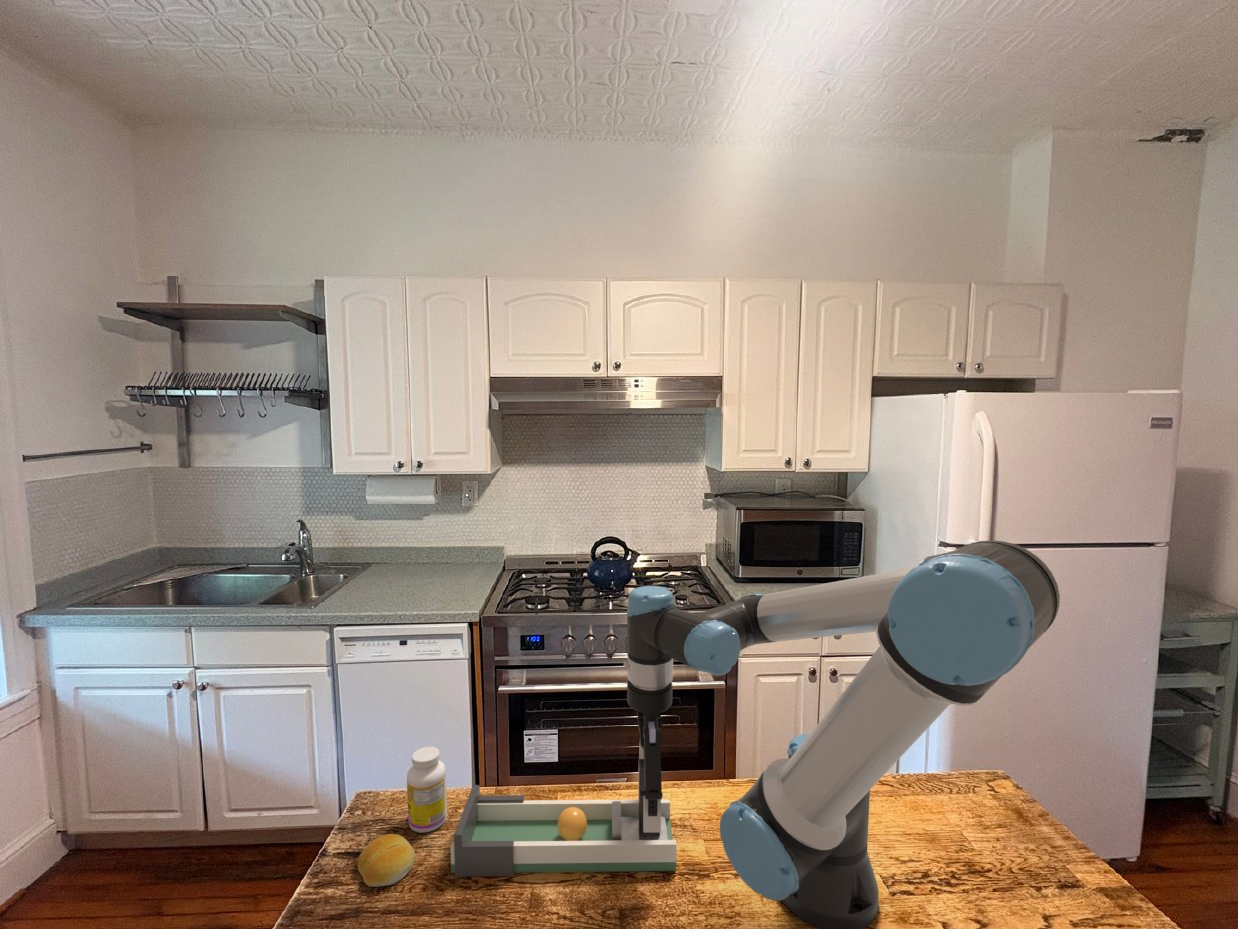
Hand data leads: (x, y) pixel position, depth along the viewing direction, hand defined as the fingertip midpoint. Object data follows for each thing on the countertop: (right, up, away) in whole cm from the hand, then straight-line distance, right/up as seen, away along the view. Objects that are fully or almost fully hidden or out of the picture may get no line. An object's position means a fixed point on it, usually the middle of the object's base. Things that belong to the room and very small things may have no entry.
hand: (649, 802), depth 98 cm
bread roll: (-43, -9, -4) cm, 44 cm away
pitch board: (-14, -8, 0) cm, 16 cm away
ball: (-13, -4, 0) cm, 14 cm away
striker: (-2, -6, 0) cm, 6 cm away
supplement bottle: (-40, -8, +7) cm, 41 cm away
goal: (-26, -8, 0) cm, 27 cm away
